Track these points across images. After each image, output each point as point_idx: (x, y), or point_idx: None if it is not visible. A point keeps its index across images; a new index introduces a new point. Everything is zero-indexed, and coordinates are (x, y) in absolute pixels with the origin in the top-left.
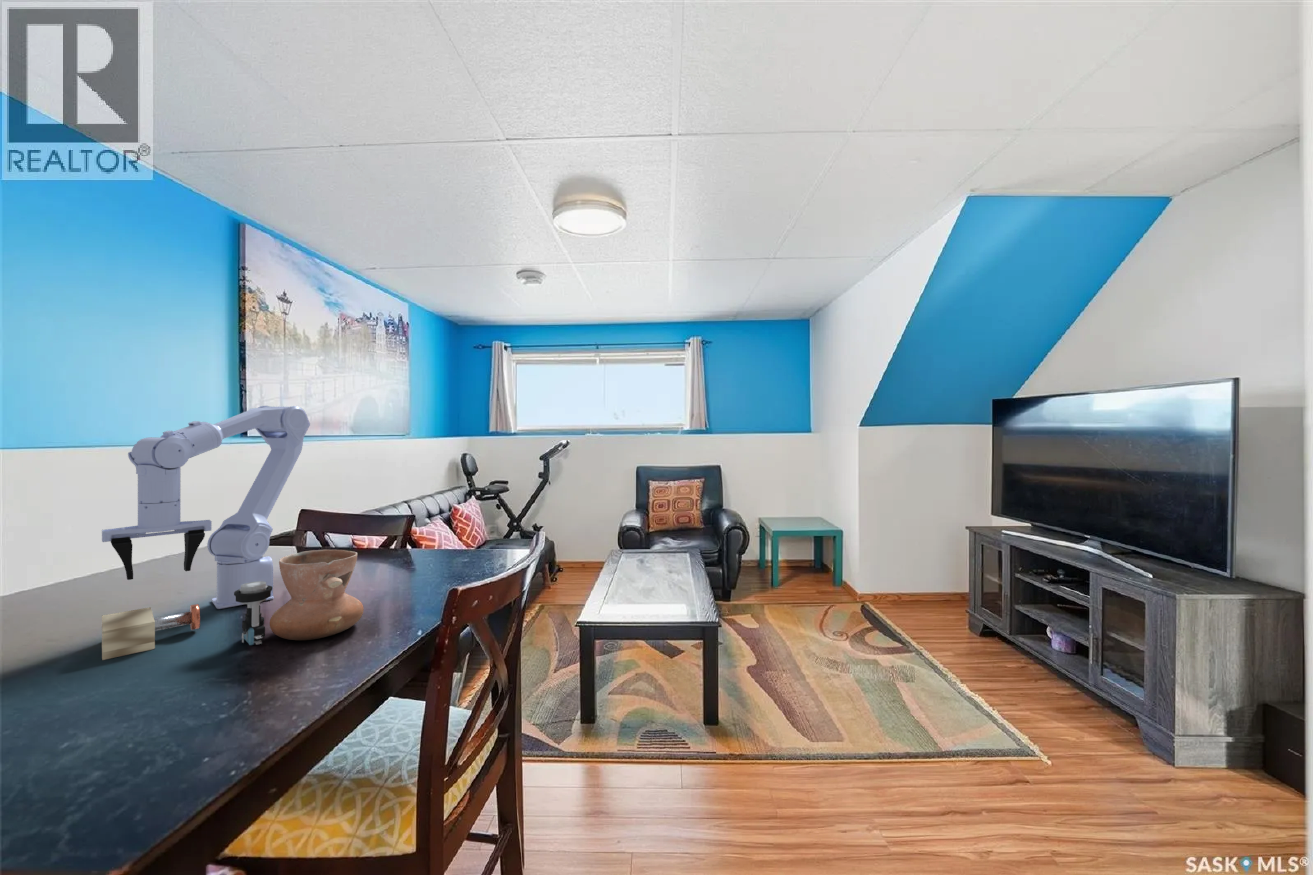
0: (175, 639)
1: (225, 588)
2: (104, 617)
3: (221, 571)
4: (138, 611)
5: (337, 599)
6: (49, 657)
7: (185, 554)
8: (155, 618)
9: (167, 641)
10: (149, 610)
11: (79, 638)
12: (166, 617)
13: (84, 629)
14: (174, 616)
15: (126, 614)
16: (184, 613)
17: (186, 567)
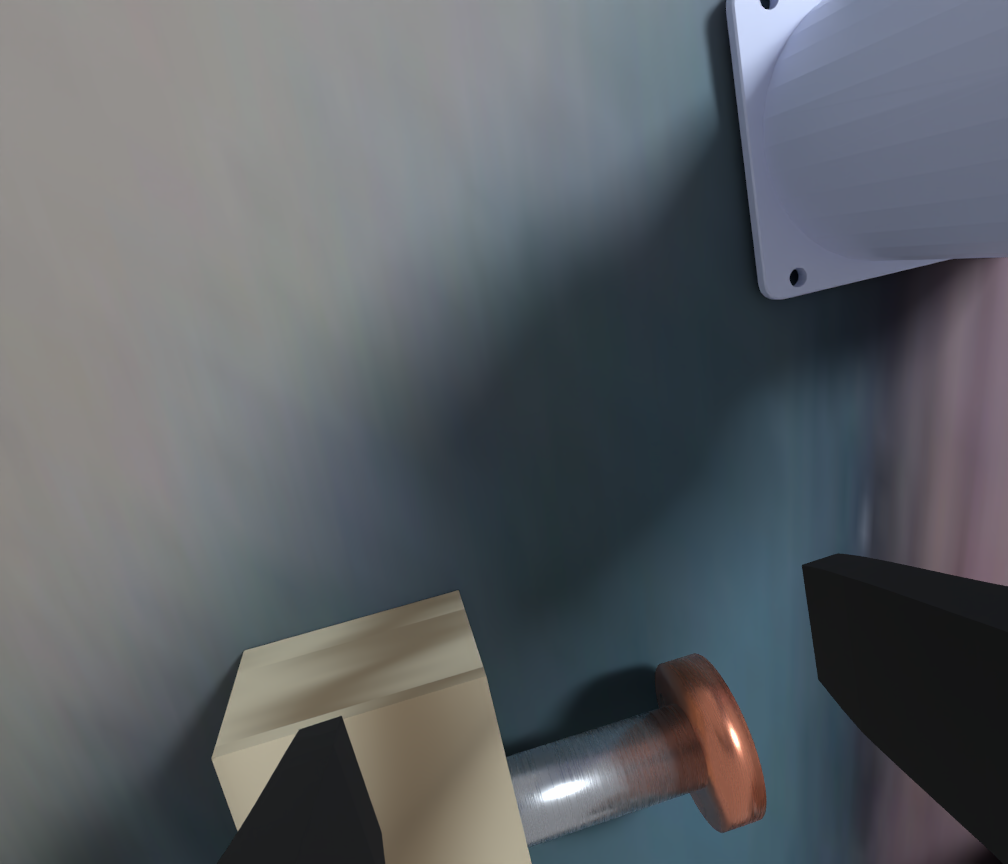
0: None
1: (895, 231)
2: (247, 815)
3: (1004, 187)
4: (432, 759)
5: None
6: (58, 795)
7: (971, 686)
8: (536, 831)
9: None
10: (495, 763)
11: (80, 504)
12: (589, 822)
13: (26, 290)
14: (626, 810)
15: (372, 802)
16: (675, 793)
17: (858, 722)
